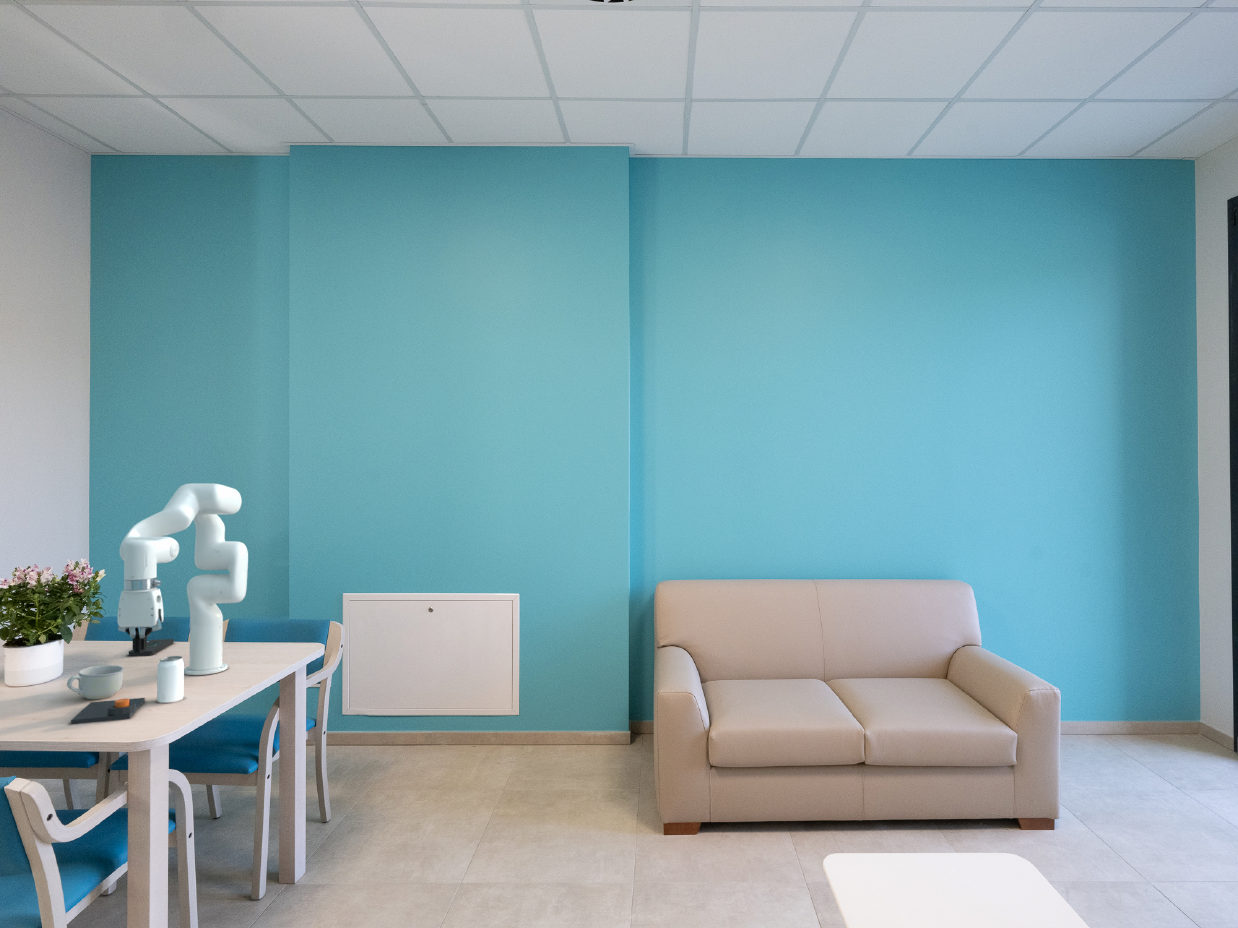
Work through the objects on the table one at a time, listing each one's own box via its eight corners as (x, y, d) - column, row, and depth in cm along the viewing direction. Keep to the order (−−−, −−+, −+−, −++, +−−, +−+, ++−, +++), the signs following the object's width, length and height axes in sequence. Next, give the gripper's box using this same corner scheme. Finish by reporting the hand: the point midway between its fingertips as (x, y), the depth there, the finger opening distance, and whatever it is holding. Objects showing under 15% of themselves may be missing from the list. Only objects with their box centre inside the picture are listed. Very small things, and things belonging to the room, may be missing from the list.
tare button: (116, 705, 200) (116, 698, 200) (130, 704, 201) (130, 697, 201) (113, 709, 197) (113, 702, 197) (127, 707, 198) (127, 701, 198)
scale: (90, 706, 207) (90, 695, 207) (147, 701, 212) (147, 690, 212) (71, 724, 192) (71, 712, 192) (132, 718, 197) (132, 707, 197)
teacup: (115, 689, 224) (116, 662, 224) (128, 695, 217) (129, 668, 217) (59, 699, 213) (60, 671, 213) (71, 707, 206) (71, 678, 206)
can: (151, 702, 211) (152, 660, 211) (171, 696, 217) (171, 654, 217) (169, 704, 209) (169, 661, 209) (188, 698, 215) (189, 656, 215)
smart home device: (174, 638, 285) (152, 650, 266) (174, 642, 285) (152, 655, 266) (151, 639, 284) (127, 651, 264) (150, 643, 284) (127, 656, 264)
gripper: (175, 582, 208) (175, 648, 208) (119, 583, 207) (118, 649, 207) (162, 586, 201) (161, 654, 201) (103, 587, 199) (102, 656, 199)
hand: (139, 651), depth 204 cm, fingers closed
